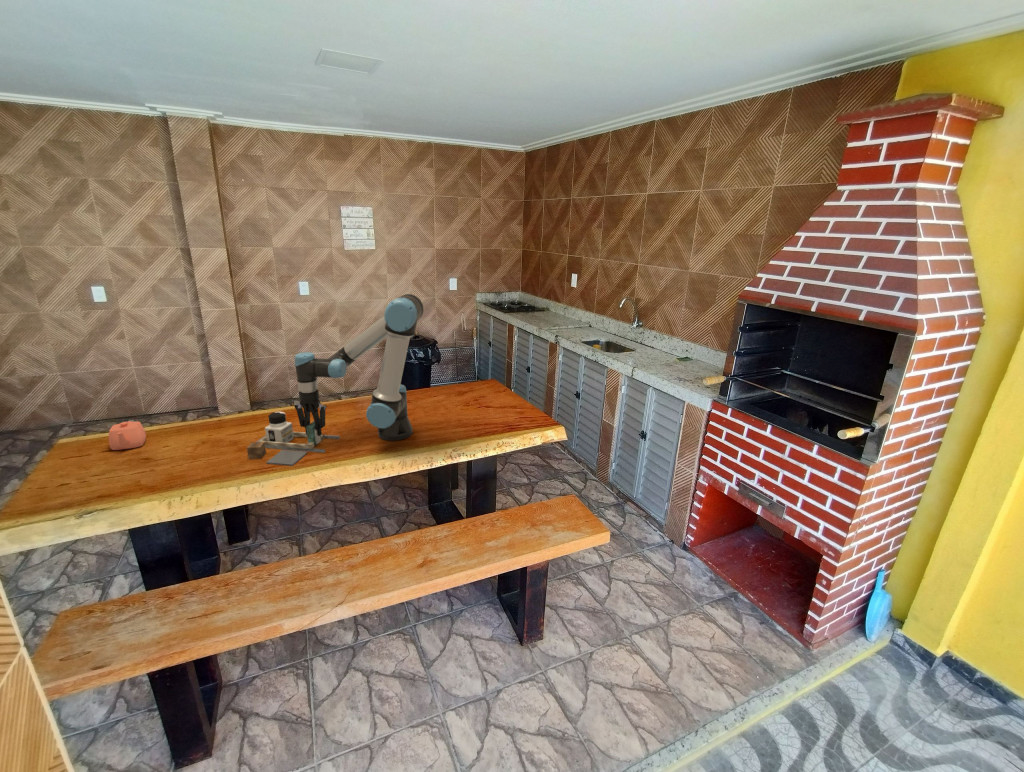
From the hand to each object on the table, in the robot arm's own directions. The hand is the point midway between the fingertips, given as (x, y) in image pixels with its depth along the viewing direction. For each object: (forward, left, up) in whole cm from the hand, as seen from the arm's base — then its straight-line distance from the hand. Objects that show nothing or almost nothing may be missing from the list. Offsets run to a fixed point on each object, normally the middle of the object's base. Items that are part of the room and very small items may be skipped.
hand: (314, 441), depth 210 cm
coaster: (+4, +14, -1) cm, 15 cm away
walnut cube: (+17, +14, -1) cm, 22 cm away
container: (+16, 0, -1) cm, 16 cm away
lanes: (+8, 0, -1) cm, 8 cm away
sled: (+10, 0, -1) cm, 10 cm away
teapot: (+74, +15, -1) cm, 76 cm away
